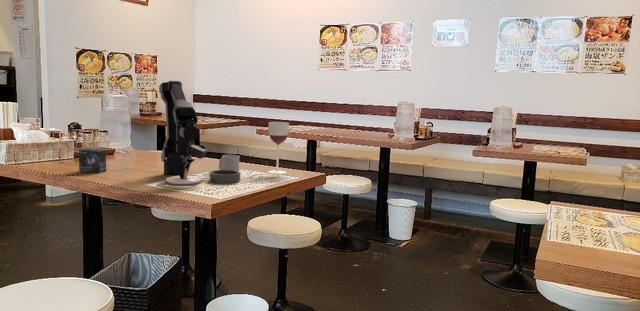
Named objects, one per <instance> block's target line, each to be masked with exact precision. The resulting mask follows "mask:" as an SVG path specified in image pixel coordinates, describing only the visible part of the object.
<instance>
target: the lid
mask: <svg viewBox="0 0 640 311" xmlns="http://www.w3.org/2000/svg"><path fill="white" fill-rule="evenodd" d="M165 179H166V180H165V181H166V182H167V183H171V184H195V183H199V182H201V180H202V178H201V177H199V176H196V175H195V176H194V175H188V174H187V168H185V174H184V179H181V178H180V176H179V175H178V176H168V177H166V178H165Z"/></svg>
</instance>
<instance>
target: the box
mask: <svg viewBox="0 0 640 311" xmlns="http://www.w3.org/2000/svg"><path fill="white" fill-rule="evenodd" d="M78 161H79V162H78V167H79V168H78V171H79V172H80V173H92V174H101V173H105V172H107V150H106V149H93V148H81V149H78Z"/></svg>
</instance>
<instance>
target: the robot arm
mask: <svg viewBox="0 0 640 311" xmlns="http://www.w3.org/2000/svg"><path fill="white" fill-rule="evenodd" d="M158 93H159V94H160V99H161V100H162V102H163V103H164V104H165V118H166V120H165V121H166V137H167V138H166V140H165V142H164V143H163V147H162V150H161V154H160V159H161V162H163V174H162V176H168V177H172V176H180V178H181V179H184V174H185V168H187V175H188V174H189V171H190V167H191V165H192V163H193V162H195V160H196V159H198V160H199V159H200V160H201V159H204V158H205V156H206V154H207V152H208V149H207V145H205V144H201V145H196V144H195V141H196V140H197V139H198V137H199V133H200V132H199V130H198V128H197V127H196V126H194V125H198V120H199V119H198V115H197V112H196V109H195V108H194V107H193V105H192V104H191V102H188V101H187V98H186V95H185V93H184V90H183V84H182V81H180V80H169V81H166V82H162V83H160V84H159V87H158ZM193 157H194V158H193ZM195 158H196V159H195Z"/></svg>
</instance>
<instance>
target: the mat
mask: <svg viewBox="0 0 640 311" xmlns="http://www.w3.org/2000/svg"><path fill="white" fill-rule="evenodd" d="M206 181H208V179H201V182H199V183H195V184H171V183H167V182H166V180H165V181H163V182H160V183H159V185H162V186H163V185H165V186H175V187H176V186H178V187H180V186H181V187H193V188H195V187H196V186H199V185H201V184H202V183H205V182H206Z"/></svg>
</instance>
